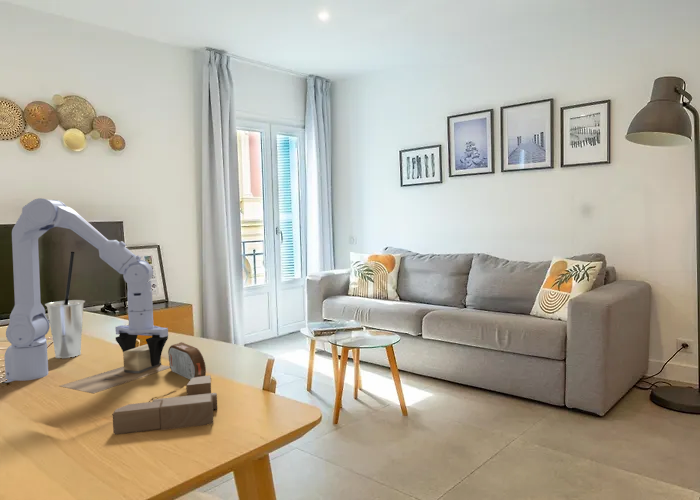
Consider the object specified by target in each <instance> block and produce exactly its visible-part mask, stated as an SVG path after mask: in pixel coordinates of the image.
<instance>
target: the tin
mask: <svg viewBox="0 0 700 500" xmlns="http://www.w3.org/2000/svg"><path fill="white" fill-rule="evenodd" d="M167 354H168V361H169V365H168V366H170V368H169V369H170V371H171V373H175V374H177V375H179V376H180V377H183V378H186V379H188V380H189V381H190V380H191V379H192V378H194V377H201V376H207V374H206V373H207V369H206V362H205V359H204V356H203V354H202V353H201V351H200V350H199V349H198V348H197V347H196V346H193V345H190V344H188V343H185V342H183V341H181V342H179V343H175V344H172V345H170V346H169V347H168V351H167Z"/></svg>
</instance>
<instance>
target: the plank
mask: <svg viewBox="0 0 700 500" xmlns="http://www.w3.org/2000/svg"><path fill="white" fill-rule="evenodd" d="M168 369H170V365H163V364H161V365H159V366H157V367H154V368H152V369H149V370H147V371H144V372H141V373H129V372H124V366H121V367H118V368H117V367H116V368H114V369H111V370H107V371H104V372H101V373H98V374H94V375H91V376H88V377H84V378H81V379H78V380H75V381H71V382H67V383H64V384H61V385H59V387H61V388H62V387H63V388H67V389H72V390H76V391H80V392H85V393H89V394H96V393H99V392H102V391H105V390H108V389H112V388H115V387H117V386H120V385H124V384H126V383H129V382H133V381H135V380H138V379H141V378H144V377H147V376H150V375H153V374H156V373H159V372H162V371H165V370H168Z"/></svg>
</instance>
